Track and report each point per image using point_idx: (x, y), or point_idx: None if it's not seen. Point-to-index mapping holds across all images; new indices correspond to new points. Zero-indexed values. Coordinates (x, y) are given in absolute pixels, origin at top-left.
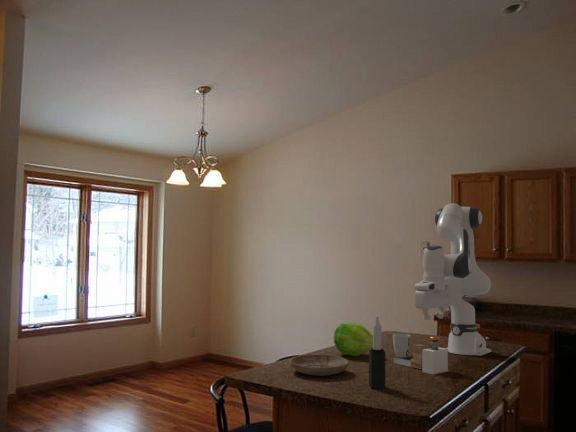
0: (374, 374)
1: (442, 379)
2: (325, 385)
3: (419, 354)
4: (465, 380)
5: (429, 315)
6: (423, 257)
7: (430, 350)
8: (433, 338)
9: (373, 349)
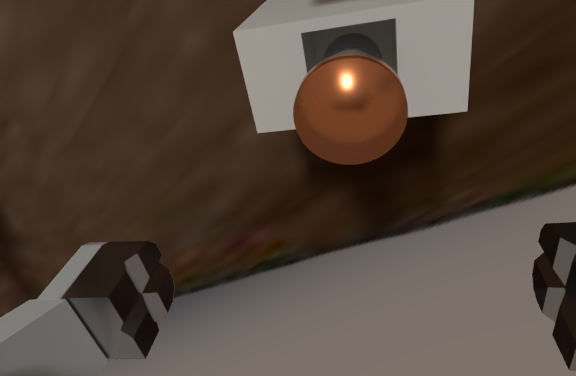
0: None
1: (258, 165)
2: None
3: None
4: (340, 220)
5: (123, 357)
6: None
7: (271, 96)
8: (300, 136)
9: None
